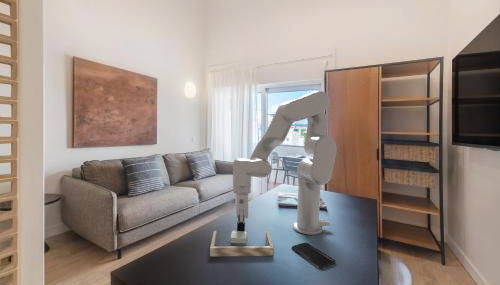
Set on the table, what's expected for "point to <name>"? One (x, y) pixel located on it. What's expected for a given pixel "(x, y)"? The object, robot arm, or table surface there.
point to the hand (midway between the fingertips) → (240, 231)
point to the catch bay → (241, 249)
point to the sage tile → (238, 236)
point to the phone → (313, 255)
